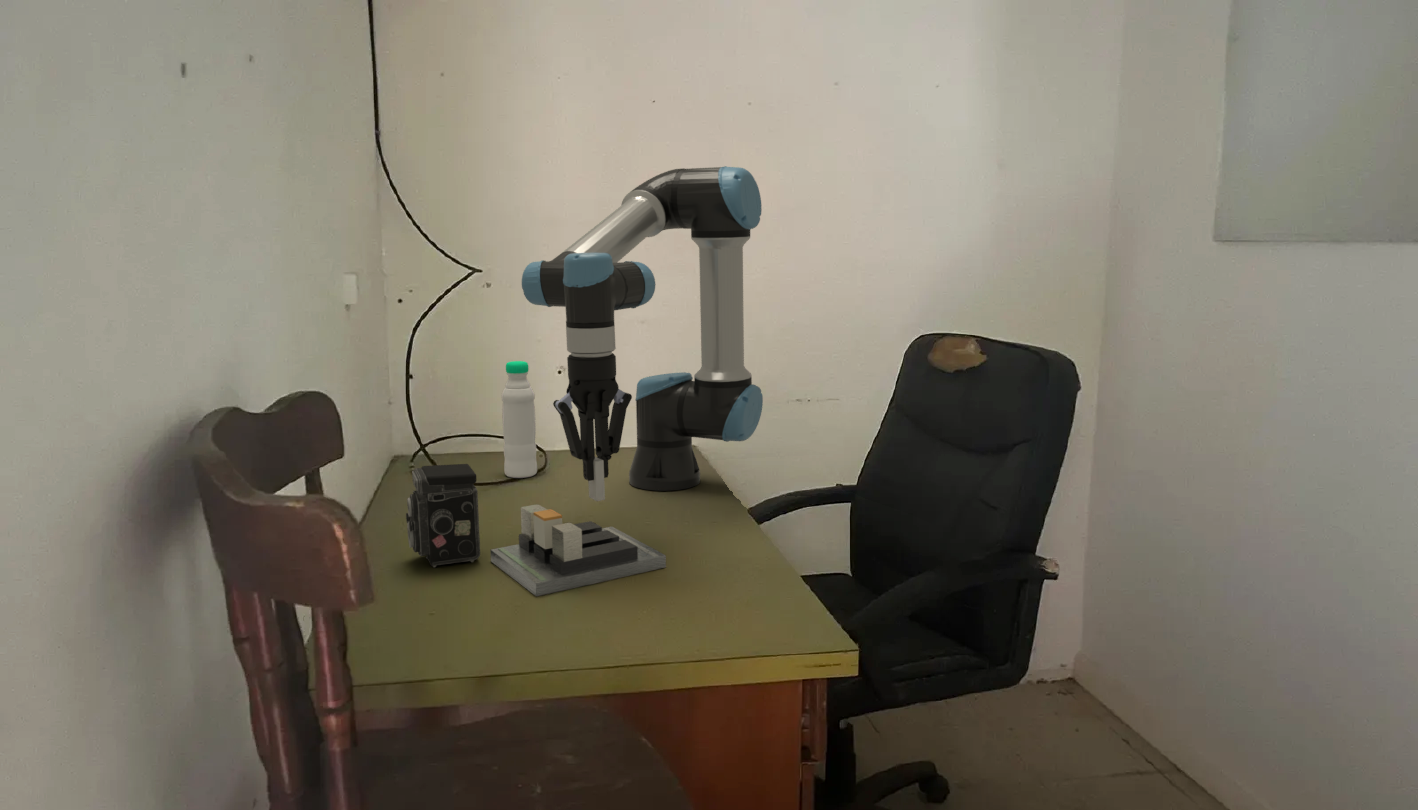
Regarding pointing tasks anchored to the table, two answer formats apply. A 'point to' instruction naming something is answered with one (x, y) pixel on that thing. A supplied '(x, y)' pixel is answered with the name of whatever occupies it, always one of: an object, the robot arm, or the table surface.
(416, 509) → the camera
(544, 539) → the block
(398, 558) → the table surface
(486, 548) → the table surface
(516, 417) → the water bottle
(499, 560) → the panel
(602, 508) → the table surface
